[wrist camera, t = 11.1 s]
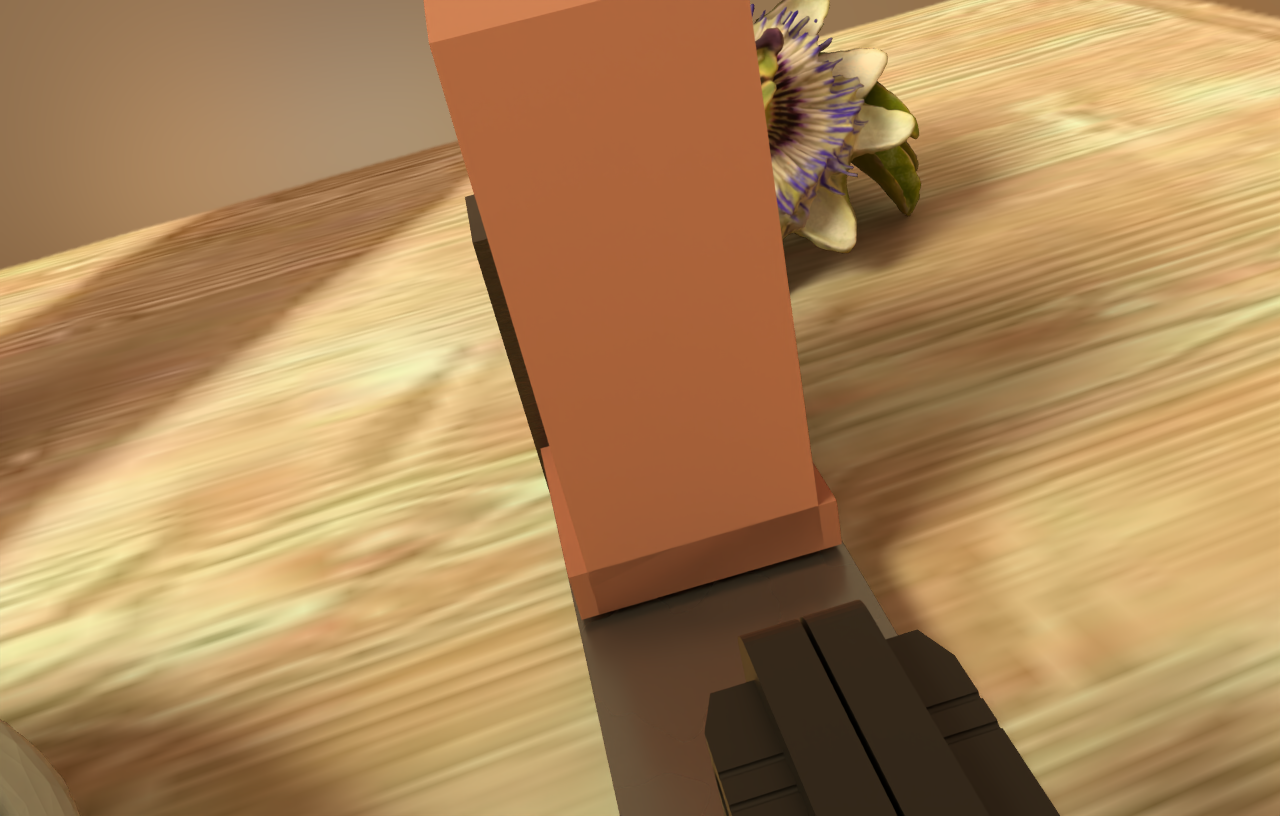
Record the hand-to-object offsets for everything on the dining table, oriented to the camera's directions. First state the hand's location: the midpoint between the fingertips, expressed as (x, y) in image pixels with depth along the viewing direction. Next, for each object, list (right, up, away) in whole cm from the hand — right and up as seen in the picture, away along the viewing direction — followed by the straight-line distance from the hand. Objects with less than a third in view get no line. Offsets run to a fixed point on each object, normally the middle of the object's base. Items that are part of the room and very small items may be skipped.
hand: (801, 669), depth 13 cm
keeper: (-1, +1, +12) cm, 12 cm away
